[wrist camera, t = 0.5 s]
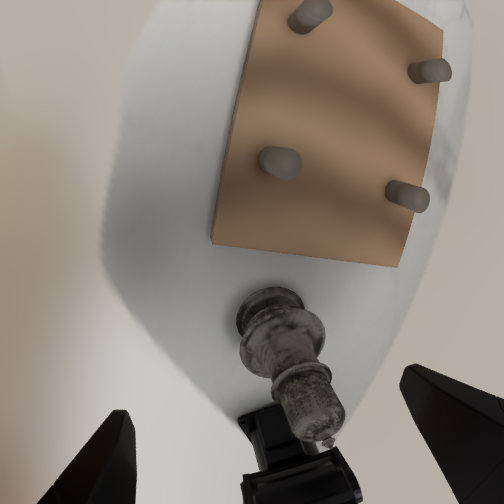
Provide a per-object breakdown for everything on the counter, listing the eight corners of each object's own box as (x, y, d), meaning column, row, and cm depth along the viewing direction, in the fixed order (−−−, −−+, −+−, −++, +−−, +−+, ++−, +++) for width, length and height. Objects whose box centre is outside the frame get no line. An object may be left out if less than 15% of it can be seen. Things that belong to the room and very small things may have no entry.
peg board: (387, 260, 23) (420, 284, 19) (210, 236, 20) (216, 263, 16) (431, 33, 17) (468, 24, 13) (270, -38, 14) (289, -71, 9)
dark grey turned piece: (220, 301, 22) (253, 444, 11) (297, 271, 22) (386, 387, 11) (247, 358, 24) (286, 488, 13) (314, 331, 24) (386, 445, 13)
